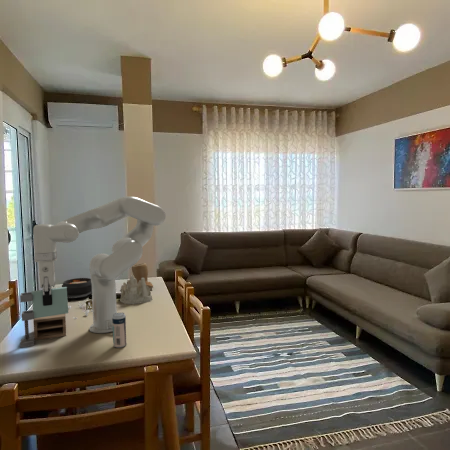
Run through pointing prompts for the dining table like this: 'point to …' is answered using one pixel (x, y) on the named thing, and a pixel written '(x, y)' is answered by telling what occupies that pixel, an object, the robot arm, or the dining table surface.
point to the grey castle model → (135, 292)
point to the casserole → (78, 287)
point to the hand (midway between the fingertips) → (47, 304)
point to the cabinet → (45, 329)
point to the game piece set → (81, 307)
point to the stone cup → (141, 273)
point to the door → (39, 310)
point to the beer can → (119, 330)
